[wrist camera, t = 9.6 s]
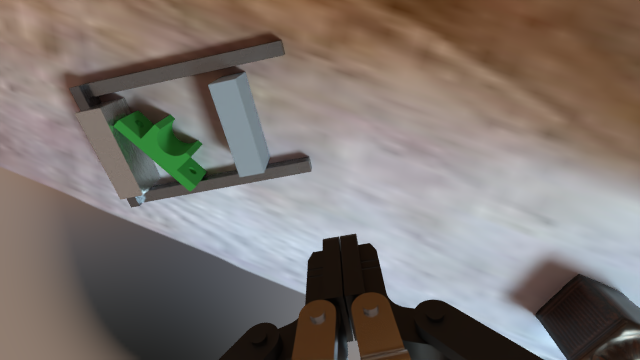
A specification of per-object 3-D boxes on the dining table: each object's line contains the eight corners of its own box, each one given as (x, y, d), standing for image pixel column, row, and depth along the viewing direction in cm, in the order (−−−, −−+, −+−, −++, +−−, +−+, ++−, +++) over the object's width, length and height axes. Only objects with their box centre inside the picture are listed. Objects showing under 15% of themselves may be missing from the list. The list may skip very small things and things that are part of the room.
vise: (82, 84, 40) (52, 93, 36) (281, 40, 38) (276, 43, 33) (140, 198, 47) (120, 217, 43) (311, 166, 45) (310, 183, 40)
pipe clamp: (220, 159, 45) (210, 174, 41) (202, 176, 46) (190, 192, 42) (150, 95, 41) (131, 105, 37) (132, 115, 42) (112, 126, 38)
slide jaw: (220, 77, 40) (208, 84, 35) (245, 71, 39) (235, 79, 35) (248, 161, 44) (239, 177, 40) (269, 156, 44) (264, 172, 40)
